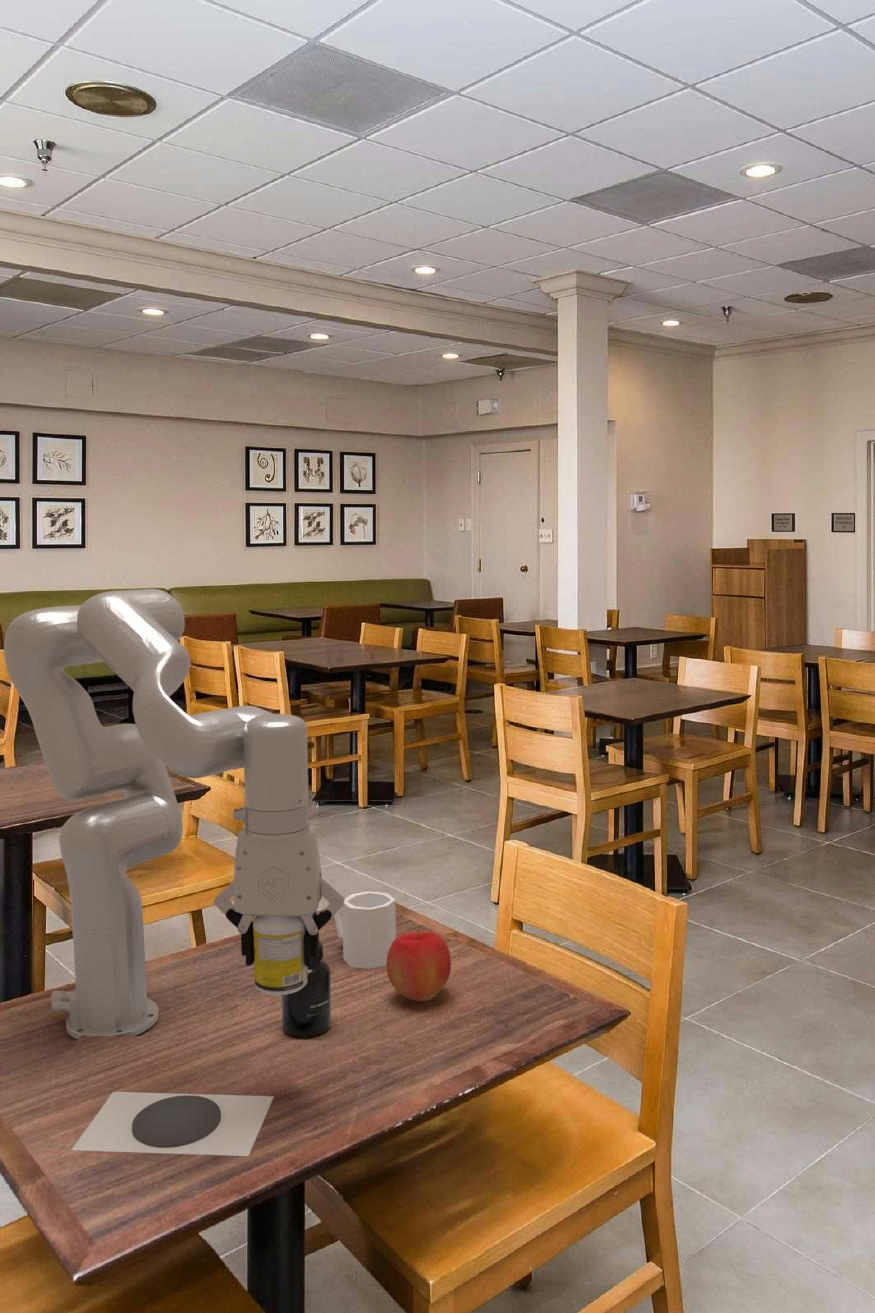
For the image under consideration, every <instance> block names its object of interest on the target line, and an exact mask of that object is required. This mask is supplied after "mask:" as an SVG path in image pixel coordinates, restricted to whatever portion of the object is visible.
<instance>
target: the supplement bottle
mask: <svg viewBox="0 0 875 1313" xmlns="http://www.w3.org/2000/svg"><path fill="white" fill-rule="evenodd" d="M323 950H324V946H323V943H322V942H321V941H319V955H318V957H314V960H313V962H312V964H311V967H308V981H307V983H306V985H305V986H304V987H303V988H302V989H300V990H299V991H297V992H294V993H291V994H286V995H281V1018H282V1019H281V1021H282V1022H281V1023H282V1028H283V1030H284V1032H285V1033H286V1034H288V1035H290V1036H292V1037H296V1038H312V1037H317V1036H319V1035H322V1034H324V1033H325V1032H327V1031H328V1030H329V1029H330V1026H331V1022H332V1021H331V1020H332V1018H331V1016H332V1006H331V1005H332V1004H331V1000H332V998H331V997H332V996H331V995H332V994H331V990H332V989H331V969H330V968H331V967H330V965H329V964H328V962H327V961H326V960H324V951H323Z"/></svg>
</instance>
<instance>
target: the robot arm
mask: <svg viewBox="0 0 875 1313" xmlns="http://www.w3.org/2000/svg"><path fill="white" fill-rule="evenodd" d="M185 621H186V620H185V615H184V612H183V609H182V607H181V605H180V604H179V602H178V601H177V599H176V598H175V597H174V596H173V595H171V594H170V593H168V592H167V591H165V590H161V589H158V588H157V589H156V588H144V589H127V590H125V589H123V590H108V591H104V592H100V593H98V594H95V595H93V596H91V597H89V598H88V599H87V600H85V601H84V602H83V603H82V604H79V605H60V606H49V607H42V608H38V609H33V610H29V611H27V612H26V611H25V612H24V613H22V614H20V615H18V616H17V617H15V618H14V619H13V620H12V621H11V623H10V624H9V625H8V627H7V629H6V632H5V635H4V642H3V654H4V656H3V657H4V662H5V666H6V669H7V672H8V675H9V677H10V680H11V682H12V685H13V686H14V688H15V690H16V691H17V693H18V695H19V697H20V698H21V700H22V702H23V703H24V705H25V707H26V709H27V711H28V714H29V716H30V719H31V722H32V725H33V729H34V732H35V735H36V736H35V737H36V738H37V742H38V744H39V748H40V751H41V755H42V756H43V760H44V763H45V767H46V769H47V774H48V776H49V779H50V781H51V784H52V786H53V788H54V789H55V791H56V792H55V793H57V794H58V796H59V797H61V798H63V799H64V800H68V801H80V800H82V801H83V800H86V799H91V798H92V799H93V798H95V797H99V796H103V795H107V794H112V793H115V792H120V791H121V792H122V794H123V796H124V798H122V799H120V800H119V799H117V800H113V801H109V802H105V803H100V804H98V805H94V806H91V807H87V808H85V809H82V810H80V811H78V812H75V814H73V815H72V816H70V817H69V818H68V819H67V820H66V821H65V822H64V824H63V825H62V827H61V830H60V831H59V832H60V833H59V841H58V842H59V849H60V850H59V851H60V854H61V857H62V858H61V859H62V862H63V865H64V869H65V875H66V878H67V879H66V880H67V883H68V890H69V899H70V911H71V913H70V914H71V925H72V926H71V928H72V940H73V941H72V944H73V963H74V964H73V965H74V980H75V989H74V990H73V991H66V990H63V991H62V990H54V991H52V993H51V995H50V1004H51V1011H52V1012H67V1013H69V1015H68V1016H67V1018H66V1020H65V1024H66V1025H65V1026H66V1032H67V1034H68V1035H69V1036H70V1037H72V1038H73V1039H76V1040H79V1039H80V1038H81V1037H82V1036H88V1037H108V1036H109V1037H110V1036H111V1037H112V1036H114V1037H136V1036H138V1035H139V1034H142V1033H145V1032H146V1031H147V1030H149V1029H150V1028H151V1027H153V1026H154V1025H155V1023H157V1022H158V1020H159V1017H160V1012H159V1011H160V1009H159V1006H158V1004H157V1003H156V1002H155V1001H153V1000H152V999H151V998H148V994H147V993H148V992H147V975H146V974H147V972H146V970H147V968H146V952H145V933H144V931H145V930H144V913H143V912H144V911H143V900H142V895H141V893H140V891H139V889H138V888H137V886H136V884H134V883H133V881H132V880H131V878H130V877H129V876H128V875H127V870H128V869H129V868H132V867H134V866H137V865H139V864H142V863H143V864H144V863H145V862H149V861H152V860H155V859H157V858H160V857H163V856H166V855H167V854H170V853H171V852H173V851H175V849H177V847H178V846H179V845H180V844H181V841H182V837H183V833H184V824H183V823H184V822H183V818H182V814H181V810H180V806H179V804H178V800H177V797H176V795H175V791H174V787H173V785H172V782H171V778H170V775H169V773H168V770H167V768H169V769H170V770H171V771H173V772H174V773H176V774H177V775H180V776H182V777H184V778H188V779H201V778H206V777H209V776H210V777H211V776H214V775H217V774H220V773H225V772H228V771H233V770H240V769H243V772H244V774H243V776H244V779H243V780H244V805H243V806H242V807H240V808H234V809H233V814H232V816H233V818H232V819H233V820H236V821H237V820H239V821H240V822H242V823H243V827H242V829H241V830H239V831H238V834H237V835H238V836H237V841H236V847H235V848H236V849H235V855H234V857H235V858H234V870H233V872H234V875H233V876H234V877H233V881H232V882H231V883H230V884H228V885H227V886H226V887H225V888H224V889H223V890H222V891H221V892H220V893H218V894H217V895H216V897H215V898H214V900H213V905H215V906H216V907H217V908H218V910H219V911H220V912H221V913H222V914H224V916H225V917H226V919H227V920H228V921H229V922H230V923H231V924H232V925H233V926H234V927H236V929H237V930H236V931H237V932H238V933H239V934H240V941H241V942H240V945H241V946H240V947H241V956H242V957H243V956H244V957H245V965H246V967H247V966H248V967H249V966H252V965H254V943H253V921H254V918H255V917H256V916H301V918H302V920H303V922H304V924H305V926H306V928H307V929H306V930H307V932H306V933H305V935H304V964H305V965H306V967H311V964H312V962H313V960H314V957H318V955H319V942H320V932H319V931H320V930H321V929H322V928H323V927H324V926H325V925H326V924H327V923H328V922H329V921H330V920H331V919H332V918H333V917H334V915H335V914H336V913H337V912H338V911H339V909H340V908H341V907H342V906H343V904H344V901H345V900H344V899H345V898H344V897H343V896H342V894H340V892H338V891H337V890H336V889H335V888H333V887H332V886H331V885H330V884H329V883H328V882H327V881H326V880H325V879H324V878H323V877H322V866H321V865H322V864H321V859H320V851H319V849H320V848H319V844H318V838H317V834H316V830H315V827H314V826H313V825H310V813H309V811H310V809H309V807H310V804H309V765H308V764H309V762H308V760H309V758H308V729H307V723H306V722H305V721H304V719H302V718H301V717H300V716H296V715H293V714H286V713H285V714H283V713H273V712H269V710H268V711H267V710H265V709H264V708H260V707H257V706H253V705H238V706H234V707H230V708H228V707H227V708H221V709H217V710H216V709H215V710H211V711H206V712H199V713H195V714H191V715H190V714H188V713H187V712H186V711H184V709H182V708H181V707H180V706H179V705H178V704H177V703H175V702H174V701H173V699H172V698H171V696H172V695H173V694H174V693H175V692H177V690H178V689H179V688H180V686H182V684H183V683H184V682H185V680H186V679H187V676H188V675H189V673H190V670H191V669H190V668H191V656H190V654H189V651H188V650H187V648H186V647H185V646H184V645H183V644H182V643H181V642H179V640H180V639H181V638H182V636H183V634H184V632H185V625H186V624H185ZM96 663H97V664H98V663H105V664H106V665H107V666H108V667H109V668H110V669H111V670H112V671H113V672H114V673H115V674H116V675H117V676H118V677H119V678H120V679H121V680H122V681H123V682H124V683H125V684H126V685H127V686H128V687H129V688H130V689H131V690H132V692H133V695H132V696H133V697H132V714H133V718H134V723H120V724H119V723H118V724H113V725H109V726H103V725H102V724H101V722H100V719H99V718H98V715H97V712H96V708H95V706H94V702H93V700H92V698H91V696H90V694H89V693H88V692H87V690H86V689H85V688H84V687H83V686H82V685H81V683H80V682H78V681H77V680H76V679H75V678H74V677H72V676H71V675H69V674H68V673H67V672H66V671H65V667H70V666H71V667H72V666H81V665H83V666H84V665H89V664H96ZM231 898H233V902H232V901H231ZM322 898H324V899H325V901H327V902H328V905H327V906H325V907H324V909H322V910H321V911H320V912H318V911H317V910H318V908H319V904H320V901H321V900H322Z"/></svg>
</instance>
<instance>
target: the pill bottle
mask: <svg viewBox="0 0 875 1313" xmlns="http://www.w3.org/2000/svg"><path fill="white" fill-rule="evenodd" d="M252 922H253V943H254V962H253V966H254V967H253V970H254V971H253V972H254V974H253V975H254V984H255V988H256V989H257V990H258V991H260V992H261V993H263V994H266V995H270V996H282V995H286V994H291V993H294V992H297V991H299V990H300V989H302V988H303V987H304V986H305V985H306V983H307V981H308V967H306V965H305V964H304V935H305V933H306V932H307V930H306V929H307V928H306V926H305V924H304V922H303V920H302V918H301V916H255V917H254V919H253V921H252Z"/></svg>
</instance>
